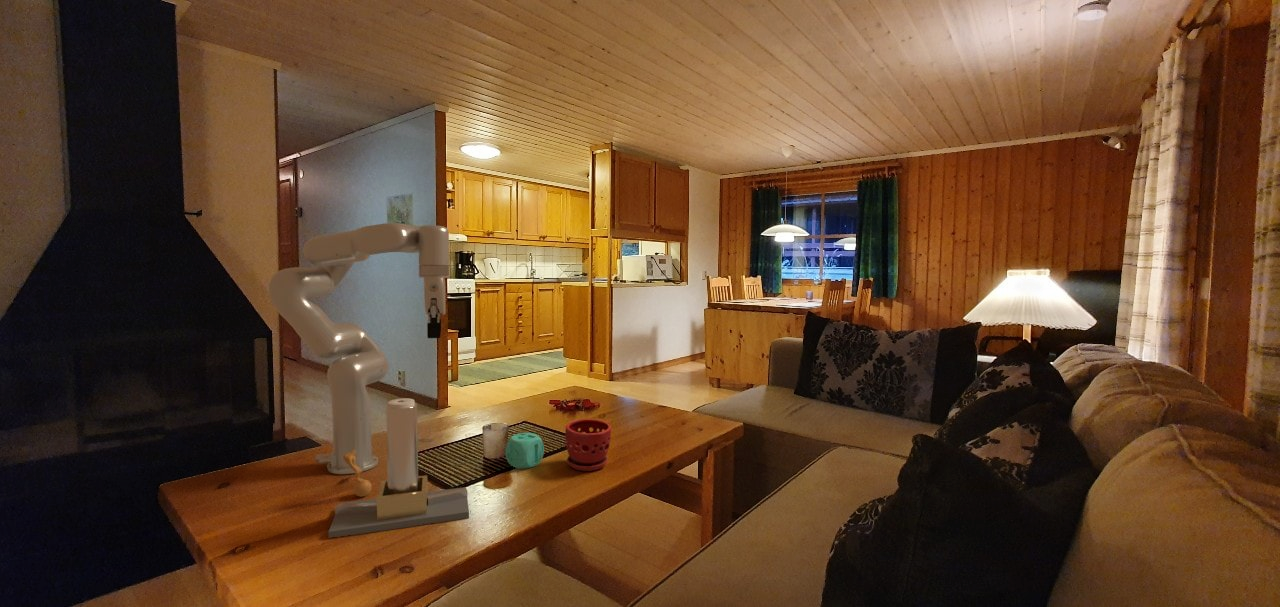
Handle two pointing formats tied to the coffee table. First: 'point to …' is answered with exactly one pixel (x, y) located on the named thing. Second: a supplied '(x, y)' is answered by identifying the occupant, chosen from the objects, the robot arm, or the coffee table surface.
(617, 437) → the coffee table surface
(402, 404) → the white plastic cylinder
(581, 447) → the plant pot
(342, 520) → the base plate
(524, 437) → the decorative dice
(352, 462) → the figurine
